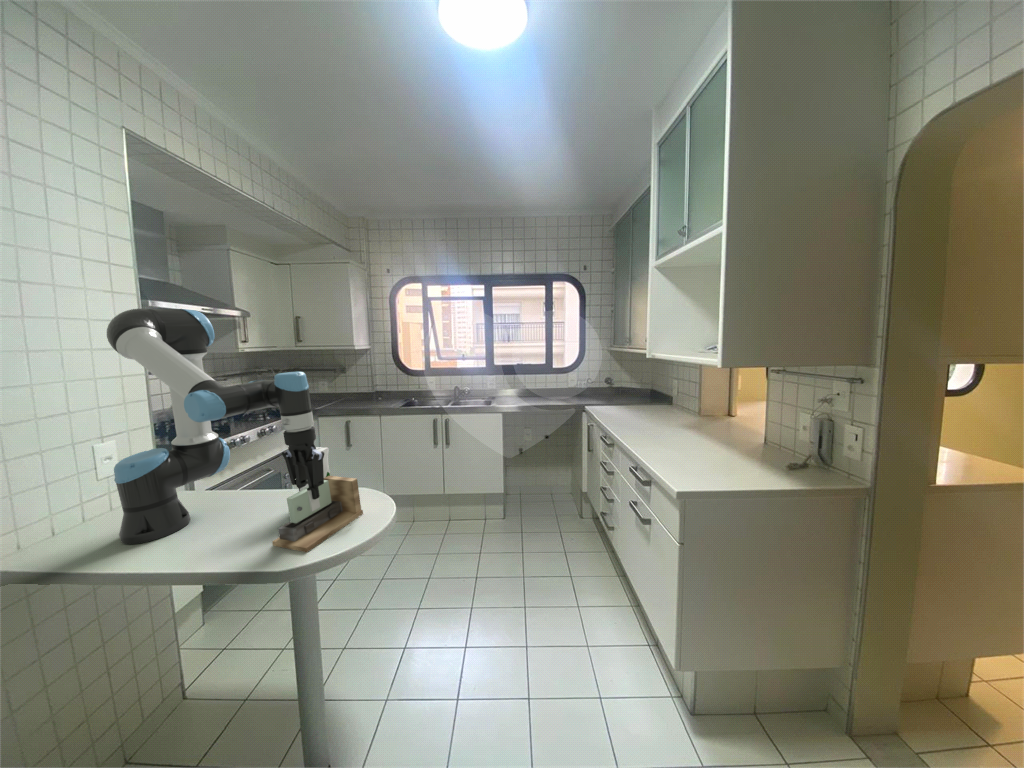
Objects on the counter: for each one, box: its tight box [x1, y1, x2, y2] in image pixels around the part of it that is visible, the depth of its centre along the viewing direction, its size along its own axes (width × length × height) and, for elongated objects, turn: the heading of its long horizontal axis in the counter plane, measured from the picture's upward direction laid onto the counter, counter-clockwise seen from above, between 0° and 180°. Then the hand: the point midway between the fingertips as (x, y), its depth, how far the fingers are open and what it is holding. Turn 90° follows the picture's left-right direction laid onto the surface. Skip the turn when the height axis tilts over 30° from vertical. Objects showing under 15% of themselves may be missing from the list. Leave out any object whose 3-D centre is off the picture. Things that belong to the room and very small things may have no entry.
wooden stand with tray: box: [271, 475, 364, 553], centre depth 104 cm, size 12×20×11 cm, turn 160°
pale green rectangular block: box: [286, 480, 332, 523], centre depth 105 cm, size 3×12×7 cm, turn 160°
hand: (311, 508), depth 105 cm, fingers closed on pale green rectangular block, 2 cm apart
